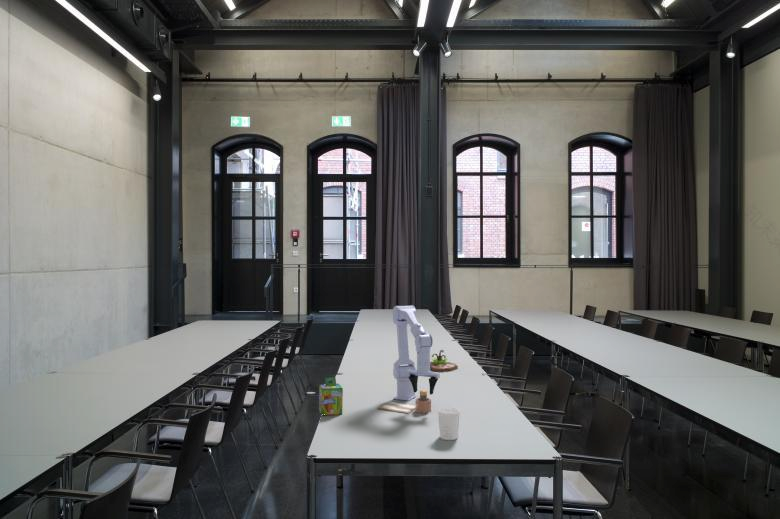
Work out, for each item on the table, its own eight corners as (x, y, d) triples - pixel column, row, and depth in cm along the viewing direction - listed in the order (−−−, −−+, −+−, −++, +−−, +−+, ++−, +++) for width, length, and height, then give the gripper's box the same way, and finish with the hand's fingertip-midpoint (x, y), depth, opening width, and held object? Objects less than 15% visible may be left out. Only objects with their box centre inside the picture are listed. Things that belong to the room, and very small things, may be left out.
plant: (463, 369, 328) (463, 350, 328) (441, 373, 315) (441, 354, 315) (439, 363, 343) (439, 346, 342) (417, 368, 329) (417, 349, 329)
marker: (421, 408, 240) (421, 390, 240) (427, 409, 239) (428, 391, 239) (418, 410, 238) (418, 391, 237) (425, 411, 236) (425, 392, 236)
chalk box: (321, 416, 230) (321, 381, 230) (318, 410, 239) (318, 376, 239) (343, 414, 232) (343, 380, 232) (339, 408, 241) (339, 375, 241)
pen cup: (419, 408, 243) (419, 396, 243) (432, 410, 240) (432, 398, 240) (413, 411, 237) (413, 400, 237) (427, 413, 234) (427, 402, 234)
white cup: (457, 433, 208) (457, 407, 208) (461, 440, 200) (461, 413, 200) (437, 434, 208) (437, 407, 208) (439, 441, 200) (439, 414, 200)
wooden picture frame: (390, 402, 252) (390, 401, 252) (419, 406, 245) (419, 405, 245) (377, 409, 241) (377, 407, 241) (408, 413, 234) (408, 412, 234)
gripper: (404, 361, 238) (404, 392, 238) (435, 365, 231) (435, 397, 231) (411, 359, 244) (411, 389, 244) (441, 362, 238) (441, 393, 238)
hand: (423, 392), depth 238 cm, fingers open, 7 cm apart
